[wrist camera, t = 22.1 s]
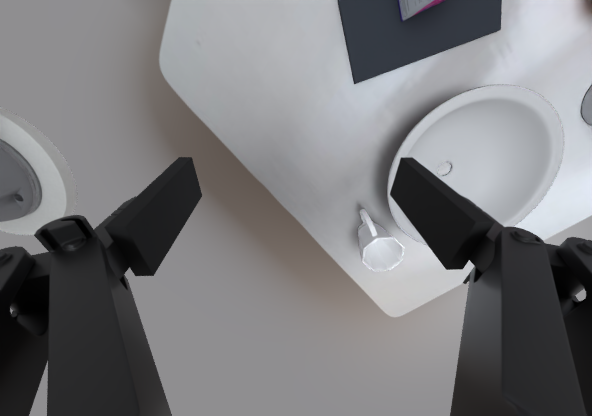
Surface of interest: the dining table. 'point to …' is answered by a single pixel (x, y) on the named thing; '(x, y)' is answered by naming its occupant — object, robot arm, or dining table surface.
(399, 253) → the cup
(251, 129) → the dining table surface
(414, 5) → the supplement box
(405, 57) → the mat
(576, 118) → the dining table surface
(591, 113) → the mug
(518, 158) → the white sink basin
